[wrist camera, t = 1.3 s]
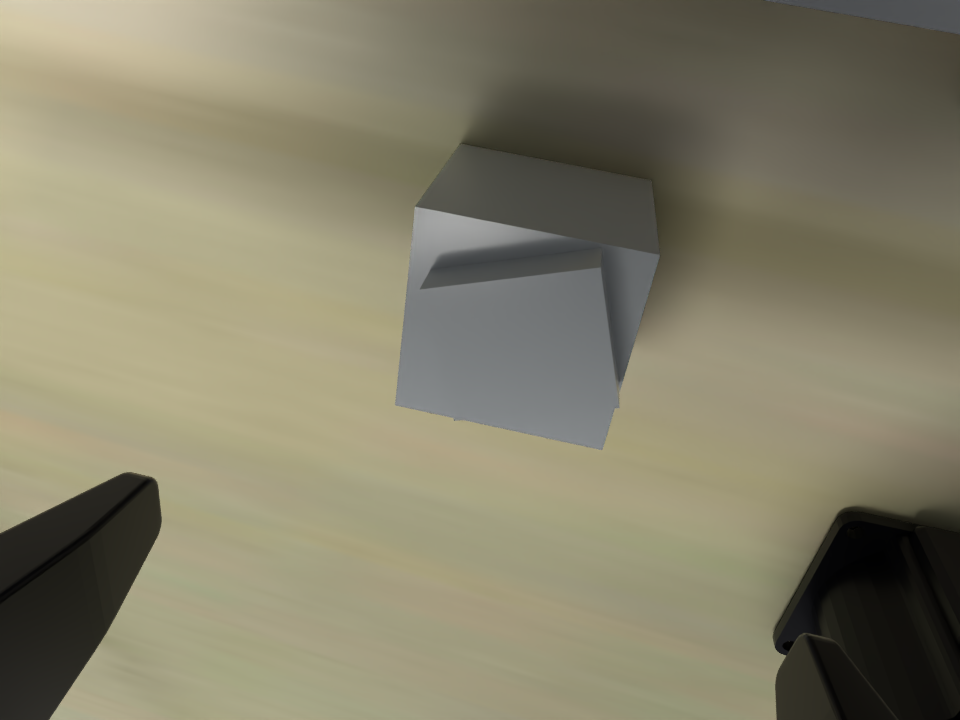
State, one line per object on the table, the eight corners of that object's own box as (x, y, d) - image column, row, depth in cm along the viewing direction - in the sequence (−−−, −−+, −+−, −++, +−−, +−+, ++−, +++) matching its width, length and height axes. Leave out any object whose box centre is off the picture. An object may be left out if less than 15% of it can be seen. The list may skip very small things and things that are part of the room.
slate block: (606, 345, 21) (601, 477, 16) (439, 310, 22) (383, 430, 17) (651, 179, 19) (662, 275, 14) (460, 142, 19) (402, 223, 14)
